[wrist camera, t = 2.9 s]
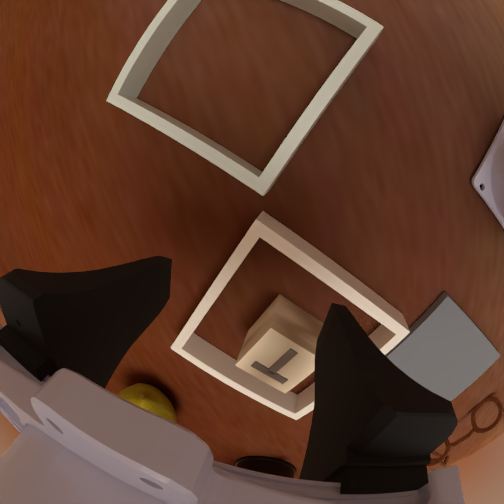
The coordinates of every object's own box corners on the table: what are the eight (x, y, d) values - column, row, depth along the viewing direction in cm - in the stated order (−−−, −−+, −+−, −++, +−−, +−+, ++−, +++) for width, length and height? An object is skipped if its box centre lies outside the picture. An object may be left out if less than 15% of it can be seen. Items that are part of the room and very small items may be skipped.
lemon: (135, 358, 27) (97, 405, 20) (195, 392, 27) (167, 447, 20) (127, 399, 32) (100, 437, 24) (175, 426, 31) (153, 468, 24)
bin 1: (376, 40, 13) (383, 26, 10) (269, 190, 18) (263, 196, 16) (216, -27, 12) (205, -42, 10) (125, 103, 18) (106, 100, 15)
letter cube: (325, 323, 21) (325, 362, 17) (291, 355, 23) (285, 394, 18) (279, 293, 21) (270, 328, 16) (248, 329, 22) (234, 366, 18)
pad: (497, 351, 18) (500, 355, 17) (412, 422, 23) (413, 427, 22) (444, 291, 18) (447, 295, 17) (340, 387, 23) (340, 393, 22)
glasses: (493, 388, 20) (505, 414, 15) (508, 412, 21) (517, 433, 16) (415, 442, 25) (419, 470, 21) (445, 456, 26) (449, 478, 21)
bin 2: (402, 313, 19) (410, 331, 17) (298, 401, 24) (296, 420, 22) (262, 210, 19) (255, 219, 16) (181, 331, 24) (170, 348, 22)
